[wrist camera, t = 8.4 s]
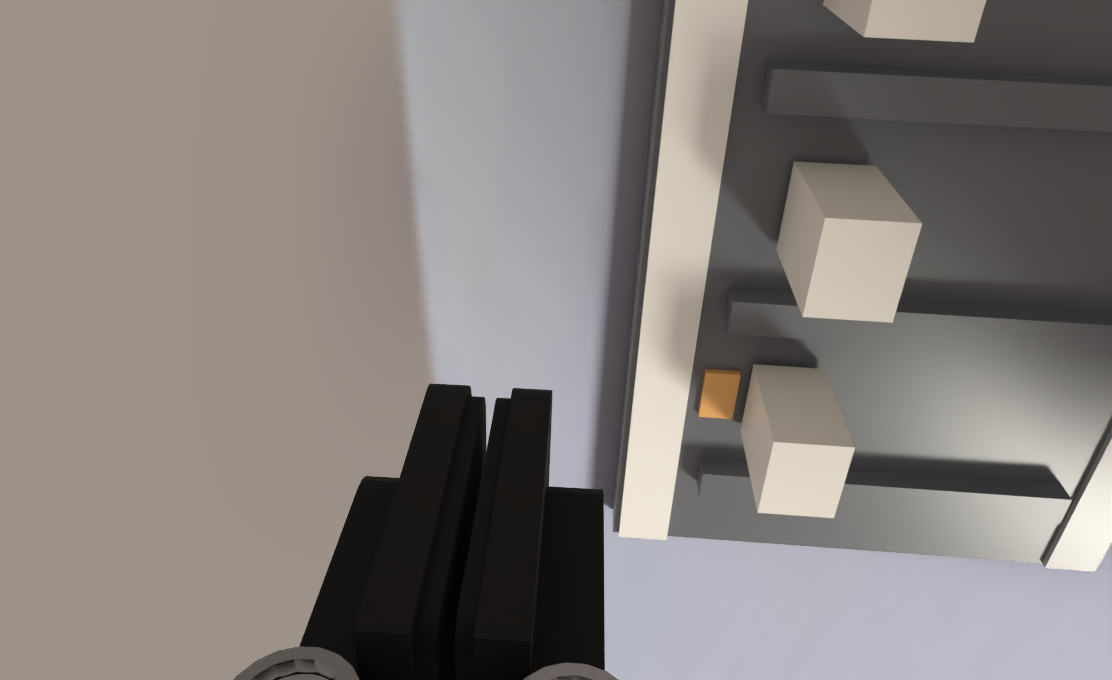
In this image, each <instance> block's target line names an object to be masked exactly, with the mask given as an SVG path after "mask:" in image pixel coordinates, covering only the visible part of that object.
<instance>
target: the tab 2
mask: <svg viewBox="0 0 1112 680" xmlns="http://www.w3.org/2000/svg"><path fill="white" fill-rule="evenodd" d="M921 226H922V222H921V221H920V220H919V219H918V217H917V216H916V215H915V214H914V213H913V211H912V210H911V209H910V208H909V206H908V205H907V204H906V203H905V201H904V200H903V199H902V198H901V196H900V195H899V194H898V193H897V191H896V190H895V189H894V188H893V186H892V185H891V184H890V183H889V181H888V180H887V179H886V178H885V176H884V175H883V174H882V173H881V171H880V170H879V169H878V168H877V166H869V165H850V164H832V163H814V162H796V161H794V163H793V168H792V173H791V179H790V184H789V189H788V194H787V199H786V204H785V209H784V214H783V219H782V224H781V229H780V234H779V239H778V244H777V249H776V250H777V253H778V256H779V258H780V261H781V263H782V266H783V268H784V271H785V274H786V276H787V279H788V281H789V284H790V286H791V289H792V291H793V294H794V297H795V299H796V302H797V304H798V307H799V309H800V312H801V315H802V317H810V318H826V319H842V320H858V321H874V322H890V323H893V320H894V316H895V313H896V310H897V306H898V303H899V300H900V296H901V293H902V290H903V286H904V283H905V280H906V276H907V273H908V270H909V266H910V263H911V260H912V256H913V253H914V250H915V246H916V243H917V240H918V236H919V233H920V230H921Z"/></svg>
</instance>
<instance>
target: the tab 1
mask: <svg viewBox="0 0 1112 680" xmlns="http://www.w3.org/2000/svg"><path fill="white" fill-rule="evenodd" d="M985 3H986V0H824V1H823V5H824V6H825V7H826V8H828V9H829V10H830V11H831V12H833V13H834V14H835V15H836V16H838V17H839V18H840V19H842V20H843V21H844V22H845V23H847V24H848V25H849V26H850V27H852V28H853V29H854V30H855V31H857V32H858V33H859V34H861V35H862V36H863V37H871V38H891V39H911V40H931V41H951V42H972V43H974V40H975V37H976V33H977V30H978V27H979V23H980V20H981V17H982V13H983V10H984V6H985Z"/></svg>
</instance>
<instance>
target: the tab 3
mask: <svg viewBox="0 0 1112 680" xmlns="http://www.w3.org/2000/svg"><path fill="white" fill-rule="evenodd" d="M740 431H741V436H742V441H743V446H744V450H745V455H746V460H747V465H748V470H749V474H750V479H751V484H752V489H753V493H754V498H755V503H756V508H757V513H768V514H782V515H796V516H810V517H824V518H834V516H835V513H836V510H837V506H838V503H839V500H840V496H841V493H842V490H843V486H844V483H845V480H846V476H847V473H848V470H849V466H850V463H851V460H852V456H853V453H854V450H855V446H854V443H853V441H852V438H851V436H850V433H849V431H848V428H847V426H846V423H845V420H844V418H843V415H842V413H841V410H840V408H839V405H838V403H837V400H836V398H835V395H834V392H833V390H832V387H831V385H830V382H829V380H828V377H827V375H826V372H825V370H824V369H820V368H804V367H789V366H773V365H758V364H753V369H752V374H751V379H750V384H749V389H748V394H747V399H746V404H745V409H744V414H743V419H742V424H741V430H740Z"/></svg>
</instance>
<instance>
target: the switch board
mask: <svg viewBox="0 0 1112 680" xmlns="http://www.w3.org/2000/svg"><path fill="white" fill-rule="evenodd" d="M823 1H824V0H663V9H662V19H661V29H660V40H659V50H658V60H657V70H656V80H655V90H654V100H653V110H652V121H651V131H650V141H649V151H648V161H647V171H646V181H645V191H644V201H643V212H642V222H641V232H640V242H639V252H638V262H637V272H636V282H635V292H634V303H633V313H632V323H631V333H630V343H629V353H628V363H627V373H626V384H625V394H624V404H623V414H622V424H621V434H620V444H619V454H618V464H617V475H616V485H615V495H614V505H613V532H619V537H631V538H645V539H658V540H667V536H677V537H691V538H705V539H718V540H732V541H746V542H759V543H773V544H787V545H800V546H814V547H828V548H842V549H855V550H869V551H883V552H896V553H910V554H924V555H937V556H951V557H965V558H979V559H992V560H1006V561H1020V562H1033V563H1043V565H1044V567H1045V568H1055V569H1068V570H1082V571H1095V570H1096V569H1097V567H1098V566H1099V565H1100V563H1101V561H1102V559H1103V557H1104V556H1105V554H1106V552H1107V550H1108V549H1109V547H1110V545H1111V543H1112V0H986V3H985V6H984V10H983V13H982V17H981V20H980V23H979V27H978V30H977V33H976V37H975V40H974V43H972V42H951V41H931V40H911V39H891V38H871V37H863V36H862V35H861V34H859V33H858V32H857V31H855V30H854V29H853V28H852V27H850V26H849V25H848V24H847V23H845V22H844V21H843V20H842V19H840V18H839V17H838V16H836V15H835V14H834V13H833V12H831V11H830V10H829V9H828V8H826V7H825V6H824V5H823ZM794 161H796V162H814V163H832V164H850V165H869V166H877V168H878V169H879V170H880V171H881V173H882V174H883V175H884V176H885V178H886V179H887V180H888V181H889V183H890V184H891V185H892V186H893V188H894V189H895V190H896V191H897V193H898V194H899V195H900V196H901V198H902V199H903V200H904V201H905V203H906V204H907V205H908V206H909V208H910V209H911V210H912V211H913V213H914V214H915V215H916V216H917V217H918V219H919V220H920V221H921V222H922V226H921V230H920V233H919V236H918V240H917V243H916V246H915V250H914V253H913V256H912V260H911V263H910V266H909V270H908V273H907V276H906V280H905V283H904V286H903V290H902V293H901V296H900V300H899V303H898V306H897V310H896V313H895V316H894V320H893V323H890V322H874V321H858V320H842V319H826V318H810V317H802V315H801V312H800V309H799V307H798V304H797V302H796V299H795V297H794V294H793V291H792V289H791V286H790V284H789V281H788V279H787V276H786V274H785V271H784V268H783V266H782V263H781V261H780V258H779V256H778V253H777V250H776V249H777V244H778V239H779V234H780V229H781V224H782V219H783V214H784V209H785V204H786V199H787V194H788V189H789V184H790V179H791V173H792V168H793V163H794ZM753 364H758V365H773V366H789V367H804V368H820V369H824V370H825V372H826V375H827V377H828V380H829V382H830V385H831V387H832V390H833V392H834V395H835V398H836V400H837V403H838V405H839V408H840V410H841V413H842V415H843V418H844V420H845V423H846V426H847V428H848V431H849V433H850V436H851V438H852V441H853V443H854V446H855V450H854V453H853V456H852V460H851V463H850V466H849V470H848V473H847V476H846V480H845V483H844V486H843V490H842V493H841V496H840V500H839V503H838V506H837V510H836V513H835V516H834V518H824V517H810V516H796V515H782V514H768V513H757V508H756V503H755V498H754V493H753V489H752V484H751V479H750V474H749V470H748V465H747V460H746V455H745V450H744V446H743V441H742V436H741V431H740V430H741V424H742V419H743V414H744V409H745V404H746V399H747V394H748V389H749V384H750V379H751V374H752V369H753Z"/></svg>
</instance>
